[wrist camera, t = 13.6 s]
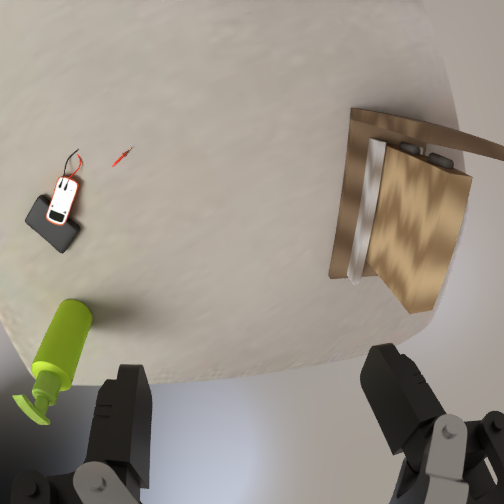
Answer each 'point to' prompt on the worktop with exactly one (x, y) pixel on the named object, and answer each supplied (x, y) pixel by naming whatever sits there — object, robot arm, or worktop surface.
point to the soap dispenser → (57, 358)
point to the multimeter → (57, 212)
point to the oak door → (416, 223)
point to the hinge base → (369, 176)
